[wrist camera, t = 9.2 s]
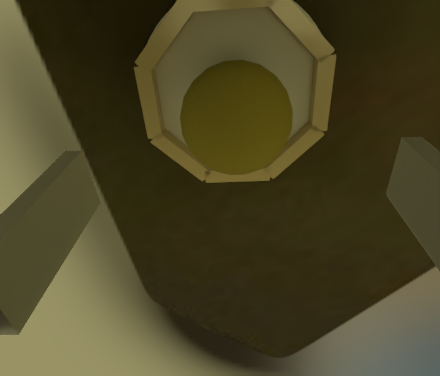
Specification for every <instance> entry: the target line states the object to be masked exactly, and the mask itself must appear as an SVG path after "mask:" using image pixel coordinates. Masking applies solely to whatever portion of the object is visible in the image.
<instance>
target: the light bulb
mask: <svg viewBox="0 0 440 376" xmlns="http://www.w3.org/2000/svg"><path fill="white" fill-rule="evenodd" d="M292 117H293V110H292V106H291V102H290V99H289V95H288V92H287V90H286V89H285V87H284V86H283V84H282V83H281V82H280V80H279V79H278V77H277V76H276V75H275V74H273V73H272V72H270V71H269V70H267V69H266V68H265V67H263V66H262V65H260V64H257V63H253V62H249V61H246V60H231V61H223V62H220V63H218V64H216V65H213V66H211V67H209V68H207V69H206V70H205V71H203V72H202V73H201V74H200V75H199V76H198V77H197V78H196V79H194V80H193V82H192V83H191V85H190V87H189V89H188V90H187V92H186V94H185V96H184V98H183V103H182V108H181V114H180V122H181V129H182V135H183V138H184V140H185V142H186V144H187V146H188V148H189V150H190V152H191V153H192V154H193V155H194V156H195V157H196V158H197V159H198V160H199V161H200V162H201V163H202V164H203V165H205V166H207V167H208V168H210V169H212V170H214V171H216V172H220V173H224V174H228V175H244V174H249V173H252V172H255V171H258V170H261V169H262V168H264V167H265V166H267V165H268V164H270V163H271V162H272V161H274V160H275V158H276V157H277V156H278V155H279V153H280V152H281V151H282V150H283V149H284V147H285V146H286V143H287V140H288V138H289V135H290V133H291V130H292Z"/></svg>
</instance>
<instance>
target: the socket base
mask: <svg viewBox="0 0 440 376" xmlns="http://www.w3.org/2000/svg"><path fill="white" fill-rule="evenodd" d="M334 51H335V49H334V48H333V47H332V46H331V45H330V43H329V42H328V41H327V40H326V39H325V38H324V37H323V35H322V34H321V33H320V31H319V29H318V27H317V25H316V24H315V23H314V21H313V20H312V19H311V17H310V16H309V15H308V14H307V13H306V12H305V11H304V10H303V9H302V8H301V7H300V6H299V5H298V4H297V3H296V2H294V1H293V0H177V1H176V3H175V4H174V6H173V7H172V8H171V9H170V10H169V11H168V12H167V13H166V14H165V15H164V17H163V18H162V19H161V20H160V22H159V23H158V24H157V26H156V27H155V29H154V31H153V33H152V34H151V36H150V38H149V40H148V43H147V45H146V46H145V48H144V49H143V51H142V52H141V54H140V55H139V57H138V58H137V60H136V61H135V62H134V63H136V64H137V65H136V66H134V72H135V77H136V81H137V86H138V91H139V96H140V101H141V106H142V111H143V116H144V121H145V126H146V131H147V136H148V139H152V140H151V143H152V144H153V145H155V146H156V147H157V148H159V149H160V150H161V151H163V152H164V153H165V154H166V155H168V156H169V157H170V158H172V159H173V160H174V161H176V162H177V163H178V164H180V165H181V166H182V167H184V168H185V169H186V170H188V171H189V172H190V173H192V174H193V175H194V176H196V177H197V178H198V179H200V180H201V181H202V182H203V181H204V180H205V179H206V183H213V182H241V181H269V180H270V177H271V178H273V179H274V178H275V177H276V176H277V175H279V174H280V173H281V172H282V171H283V170H284V169H286V168H287V167H288V166H289V165H290V164H291V163H292V162H294V161H295V160H296V159H297V158H298V157H299V156H301V155H302V154H303V153H304V152H305V151H306V150H307V149H309V148H310V147H311V146H312V145H313V144H314V143H316V142H317V141H318V140H319V139H320V138H321V137H322V136H324V135H325V134H324V132H323V131H327V126H328V118H329V110H330V102H331V94H332V86H333V78H334V70H335V62H336V54H335V53H333V52H334ZM231 60H246V61H249V62H253V63H257V64H260V65H262V66H263V67H265V68H266V69H267V70H269V71H270V72H272V73H273V74H275V75H276V76H277V77H278V79H279V80H280V82H281V83H282V84H283V86H284V87H285V89H286V90H287V92H288V95H289V99H290V102H291V106H292V110H293V117H292V130H291V133H290V135H289V138H288V140H287V143H286V146H285V147H284V149H283V150H282V151H281V152H280V153H279V155H278V156H277V157H276V158H275V160H274V161H272V162H271V163H270V164H268V165H267V166H265V167H264V168H262V169H261V170H258V171H255V172H252V173H249V174H244V175H228V174H224V173H220V172H216V171H214V170H212V169H210V168H208V167H207V166H205V165H203V164H202V163H201V162H200V161H199V160H198V159H197V158H196V157H195V156H194V155H193V154H192V153H191V152H190V150H189V148H188V146H187V144H186V142H185V140H184V138H183V135H182V129H181V122H180V114H181V108H182V103H183V98H184V96H185V94H186V92H187V90H188V89H189V87H190V85H191V83H192V82H193V80H194V79H196V78H197V77H198V76H199V75H200V74H201V73H202V72H203V71H205V70H206V69H207V68H209V67H211V66H213V65H216V64H218V63H220V62H223V61H231Z"/></svg>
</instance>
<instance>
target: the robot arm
mask: <svg viewBox="0 0 440 376" xmlns="http://www.w3.org/2000/svg"><path fill="white" fill-rule="evenodd" d="M386 196H387V197H388V199H389V200H390V202H391V203H392V204H393V206H394V207H395V209H396V210H397V211H398V213H399V214H400V216H401V217H402V218H403V220H404V221H405V223H406V224H407V226H408V227H409V228H410V230H411V231H412V233H413V234H414V235H415V237H416V238H417V240H418V241H419V242H420V244H421V245H422V247H423V248H424V249H425V251H426V252H427V254H428V255H429V257H430V258H431V259H432V261H433V262H434V264H435V265H436V266H437V268H438V269H439V271H440V152H439V151H438V150H437V149H436V148H435V147H433V146H432V145H431V144H430V143H428V142H427V141H426V140H425V139H424V138H422V137H406V138H401V141H400V145H399V149H398V152H397V156H396V160H395V163H394V167H393V170H392V174H391V178H390V181H389V185H388V189H387V192H386ZM99 204H100V201H99V198H98V195H97V192H96V189H95V186H94V183H93V181H92V178H91V175H90V172H89V169H88V166H87V163H86V160H85V157H84V154H83V151H66V152H64V153H63V154H62V155H61V156H60V157H59V158H58V159H57V160H56V161H55V162H54V163H53V164H52V165H51V166H50V167H49V168H48V169H47V170H46V171H45V172H44V173H43V174H42V175H41V176H40V177H39V178H38V179H37V180H36V181H35V182H34V183H33V184H31V186H30V187H29V188H28V189H26V191H24V192H23V193H22V194H21V195H20V196H19V197H18V198H17V199H16V200H15V201H14V202H13V203H12V204H11V205H10V206H9V207H8V208H7V209H6V210H5V211H4V212H3V213H2V214H1V215H0V335H2V334H4V335H5V334H6V335H18V334H19V333H20V332H21V330H22V328H23V327H24V325H25V323H26V322H27V320H28V319H29V317H30V315H31V314H32V312H33V310H34V309H35V307H36V306H37V304H38V303H39V301H40V299H41V298H42V296H43V294H44V293H45V291H46V289H47V288H48V286H49V285H50V283H51V282H52V280H53V278H54V277H55V275H56V273H57V272H58V270H59V269H60V267H61V265H62V264H63V262H64V260H65V259H66V257H67V256H68V254H69V252H70V251H71V249H72V248H73V246H74V244H75V243H76V241H77V240H78V238H79V236H80V235H81V233H82V231H83V230H84V228H85V227H86V225H87V223H88V222H89V220H90V219H91V217H92V215H93V214H94V212H95V210H96V209H97V207H98V206H99Z"/></svg>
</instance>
